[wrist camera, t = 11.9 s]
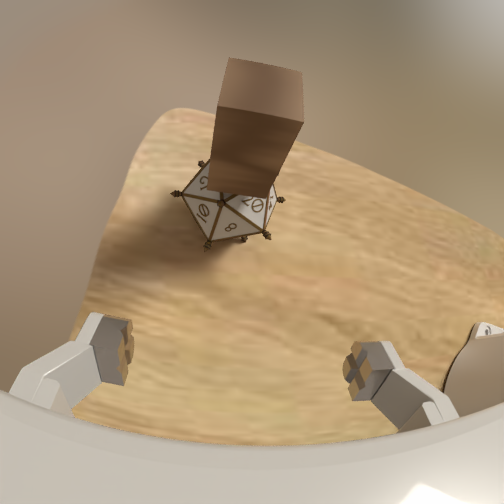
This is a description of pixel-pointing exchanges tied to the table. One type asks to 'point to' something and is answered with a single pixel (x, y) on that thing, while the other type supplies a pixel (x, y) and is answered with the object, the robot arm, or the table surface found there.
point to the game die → (226, 210)
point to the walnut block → (254, 127)
